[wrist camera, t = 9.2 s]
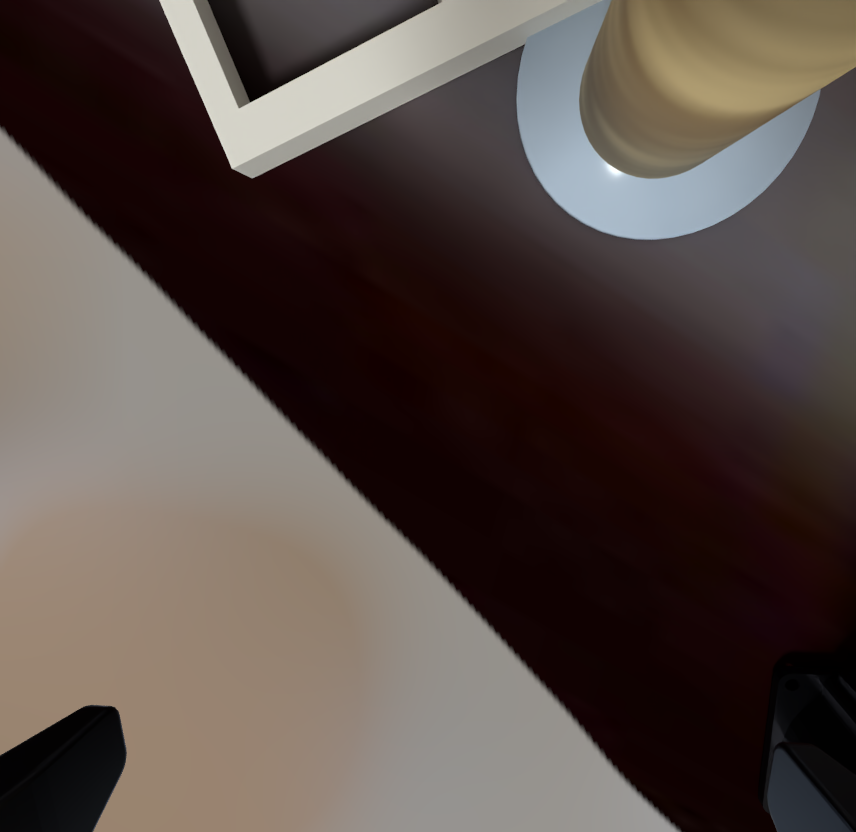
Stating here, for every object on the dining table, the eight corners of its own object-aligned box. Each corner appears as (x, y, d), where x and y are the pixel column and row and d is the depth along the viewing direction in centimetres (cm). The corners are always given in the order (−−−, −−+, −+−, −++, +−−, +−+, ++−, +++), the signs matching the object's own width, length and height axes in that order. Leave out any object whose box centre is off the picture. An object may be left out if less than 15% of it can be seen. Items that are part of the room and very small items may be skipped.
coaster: (797, 233, 17) (804, 232, 17) (515, 246, 18) (516, 245, 18) (835, -97, 15) (844, -107, 15) (516, -61, 16) (517, -69, 16)
